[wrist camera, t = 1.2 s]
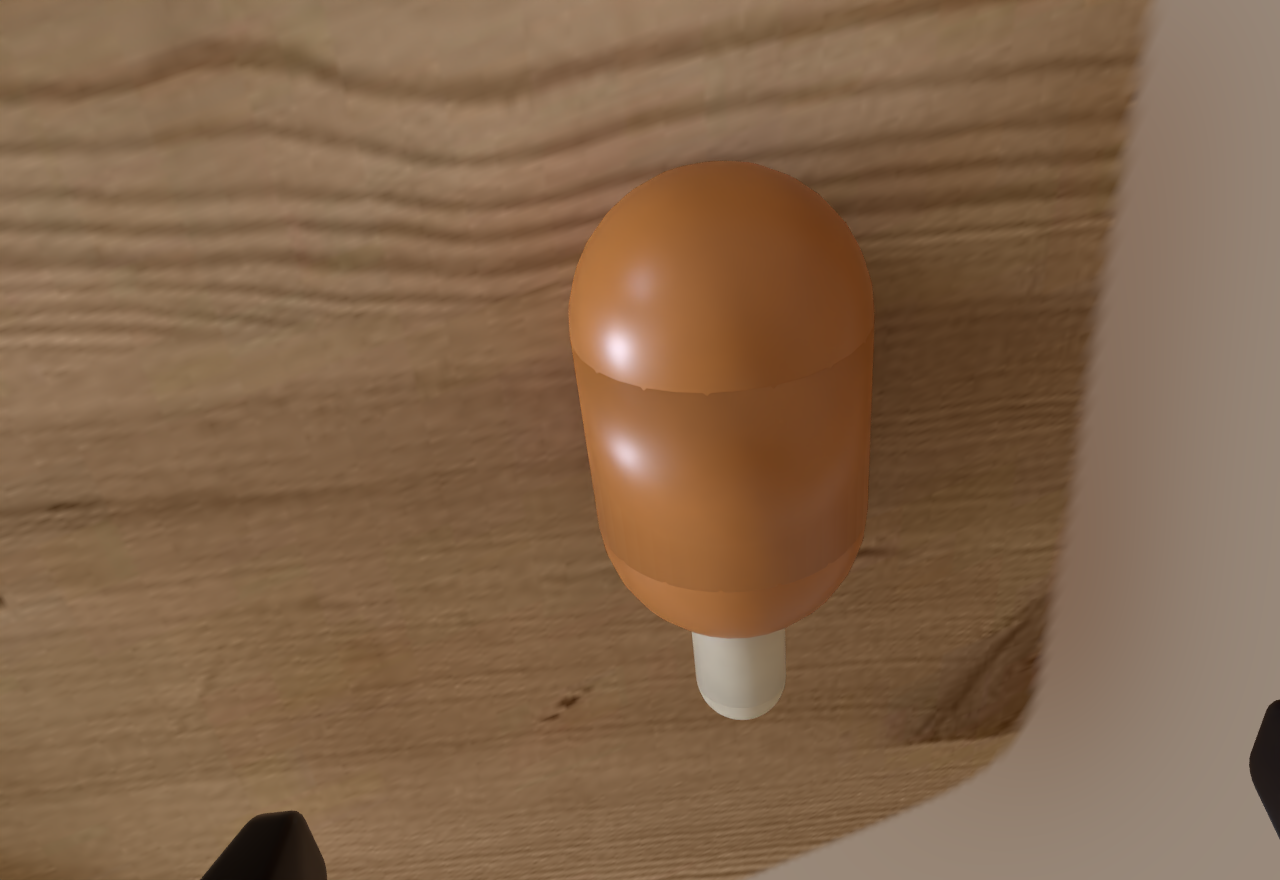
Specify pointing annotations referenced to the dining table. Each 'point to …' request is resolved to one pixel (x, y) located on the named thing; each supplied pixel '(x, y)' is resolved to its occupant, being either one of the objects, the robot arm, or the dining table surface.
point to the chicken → (727, 409)
